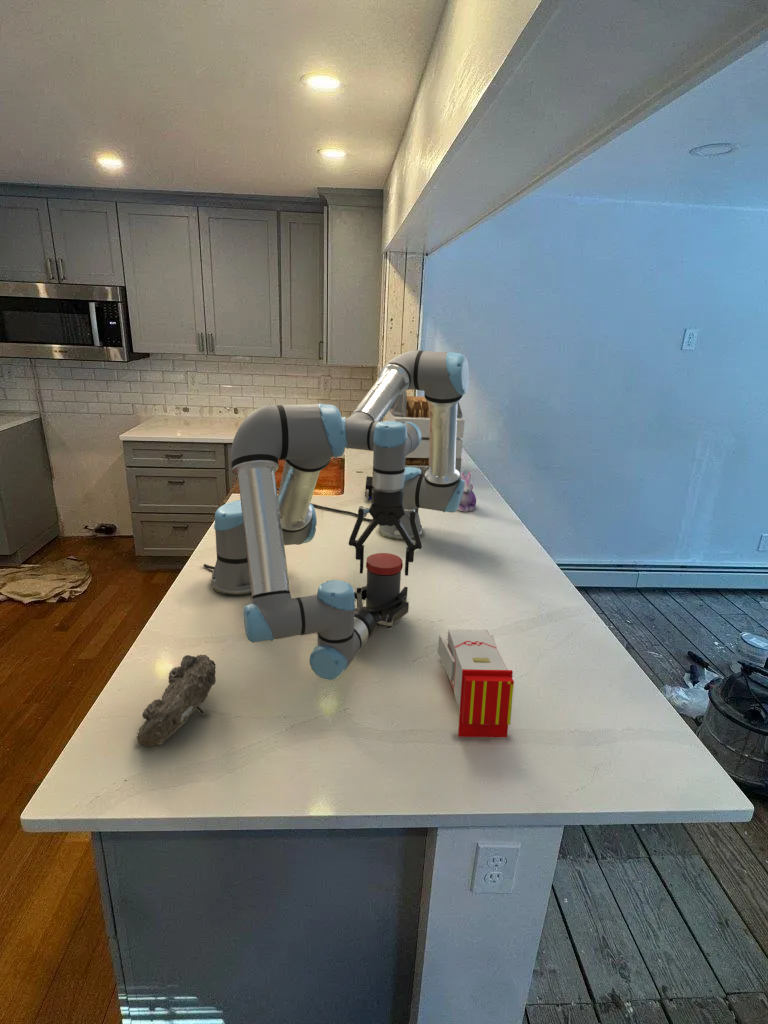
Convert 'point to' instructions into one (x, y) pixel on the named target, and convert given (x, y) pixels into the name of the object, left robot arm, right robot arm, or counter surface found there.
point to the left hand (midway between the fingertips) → (389, 587)
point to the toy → (478, 682)
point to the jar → (382, 589)
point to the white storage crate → (422, 427)
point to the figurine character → (368, 488)
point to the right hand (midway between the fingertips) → (383, 572)
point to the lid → (384, 563)
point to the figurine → (467, 495)
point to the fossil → (178, 699)
